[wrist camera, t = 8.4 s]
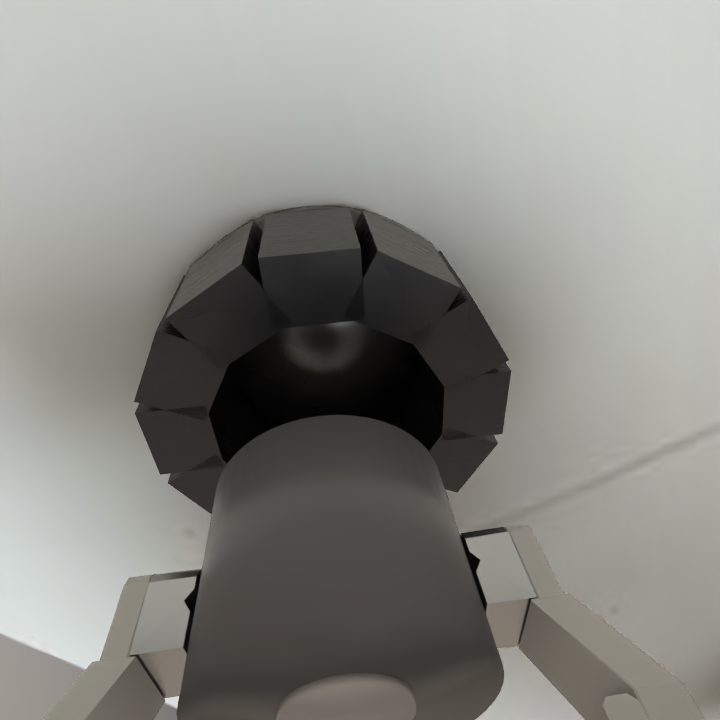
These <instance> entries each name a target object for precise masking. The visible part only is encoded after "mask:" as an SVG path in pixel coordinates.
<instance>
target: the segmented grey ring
mask: <svg viewBox="0 0 720 720" xmlns="http://www.w3.org/2000/svg"><path fill="white" fill-rule="evenodd" d="M508 360H509V359H508V358H507V356H506V354H505V353H504V351H503V349H502V347H501V346H500V344H499V342H498V341H497V339H496V337H495V336H494V334H493V332H492V331H491V329H490V327H489V325H488V324H487V322H486V320H485V319H484V317H483V315H482V314H481V312H480V310H479V308H478V307H477V305H476V303H475V302H474V300H473V298H472V297H471V295H470V294H469V292H468V291H467V289H466V288H465V286H464V285H463V283H462V282H461V280H460V279H459V277H458V276H457V275H456V273H455V272H454V270H453V269H452V267H451V266H450V264H449V263H448V261H447V260H446V258H445V257H444V255H443V254H442V252H441V251H439V252H437V250H436V249H435V247H434V246H433V244H432V243H431V242H429V241H427V240H425V239H423V238H421V237H419V236H418V235H417V234H416V233H414V232H413V231H411V230H409V229H407V228H406V227H404V226H402V225H400V224H399V223H397V222H395V221H393V220H390V219H388V218H385V217H383V216H380V215H377V214H375V213H371V212H367V211H364V210H359V209H355V208H349V207H338V206H306V207H300V208H294V209H287V210H283V211H279V212H276V213H273V214H269V215H266V216H263V217H260V218H258V219H256V220H252V221H251V222H249V223H247V224H245V225H243V226H241V227H239V228H238V229H236V230H235V231H233V232H232V233H230V234H228V235H227V236H225V237H224V238H223V239H221V240H220V241H219V242H218V243H217V244H216V245H214V246H213V247H212V248H211V249H210V250H209V251H208V252H207V253H206V254H205V255H204V256H203V257H202V258H201V259H199V260H198V261H197V262H195V263H194V264H193V265H191V267H190V269H189V271H188V273H187V275H186V276H183V278H182V280H181V282H180V284H179V286H178V288H177V290H176V292H175V294H174V296H173V298H172V300H171V302H170V304H169V306H168V308H167V310H166V312H165V314H164V316H163V318H162V320H161V322H160V324H159V326H158V328H157V331H156V334H155V337H154V340H153V343H152V347H151V350H150V353H149V356H148V359H147V362H146V366H145V369H144V372H143V375H142V378H141V382H140V385H139V388H138V391H137V394H136V397H135V401H134V402H138V403H139V405H138V408H137V410H136V412H135V415H136V417H137V419H138V422H139V424H140V427H141V429H142V431H143V434H144V436H145V439H146V441H147V443H148V446H149V448H150V451H151V453H152V455H153V458H154V460H155V462H156V465H157V467H158V470H159V472H160V474H168V473H171V474H170V477H169V481H168V484H170V485H171V486H173V487H174V488H175V489H177V490H178V491H180V492H181V493H183V494H184V495H185V496H187V497H188V498H190V499H191V500H192V501H194V502H195V503H197V504H198V505H199V506H201V507H202V508H204V509H205V510H206V511H208V512H209V513H211V514H212V511H213V505H214V499H215V494H216V488H217V484H218V481H219V478H220V476H221V473H222V472H223V470H224V468H225V466H226V465H227V463H228V462H229V461H230V460H231V458H232V457H233V456H234V455H235V454H236V453H237V452H238V451H239V450H240V449H241V448H242V447H243V446H245V445H246V444H247V443H249V442H250V441H251V440H253V439H254V438H256V437H257V436H259V435H261V434H263V433H265V432H267V431H269V430H270V429H273V428H275V427H278V426H280V425H283V424H285V423H289V422H292V421H296V420H300V419H304V418H310V417H316V416H326V415H352V416H359V417H367V418H371V419H375V420H379V421H383V422H386V423H388V424H391V425H393V426H396V427H398V428H400V429H402V430H403V431H405V432H407V433H409V434H410V435H412V436H413V437H414V438H416V439H417V440H418V441H419V442H420V443H421V444H422V445H423V446H424V447H425V448H426V449H427V450H428V451H429V453H430V454H431V456H432V457H433V459H434V461H435V463H436V465H437V467H438V470H439V473H440V477H441V480H442V483H443V486H444V489H447V490H451V491H454V492H458V491H459V490H460V488H461V487H462V486H463V485H464V484H465V482H466V481H467V480H468V479H469V478H470V476H471V475H472V474H473V473H474V472H475V470H476V469H477V468H478V467H479V465H480V464H481V463H482V462H483V461H484V459H485V458H486V457H487V456H488V455H489V453H490V452H491V451H492V450H493V449H494V447H495V446H496V445H497V444H498V443H497V441H496V439H495V437H494V435H496V434H502V432H503V425H504V418H505V411H506V404H507V396H508V389H509V382H510V375H511V370H510V369H509V367H508V366H507V364H506V363H505V362H506V361H508ZM445 492H446V490H445ZM446 495H447V493H446ZM447 498H448V496H447Z"/></svg>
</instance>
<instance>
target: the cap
mask: <svg viewBox="0 0 720 720" xmlns="http://www.w3.org/2000/svg"><path fill="white" fill-rule="evenodd" d="M503 680H504V670H503V665H502V661H501V658H500V655H499V652H498V649H497V646H496V643H495V640H494V637H493V634H492V631H491V628H490V625H489V622H488V619H487V616H486V613H485V610H484V607H483V604H482V601H481V598H480V595H479V592H478V589H477V586H476V583H475V580H474V577H473V574H472V571H471V567H470V564H469V561H468V558H467V555H466V552H465V549H464V546H463V543H462V540H461V537H460V534H459V531H458V528H457V525H456V522H455V519H454V516H453V513H452V510H451V507H450V504H449V501H448V498H447V495H446V492H445V489H444V486H443V483H442V480H441V477H440V473H439V470H438V467H437V465H436V463H435V461H434V459H433V457H432V456H431V454H430V453H429V451H428V450H427V449H426V448H425V447H424V446H423V445H422V444H421V443H420V442H419V441H418V440H417V439H416V438H414V437H413V436H412V435H410V434H409V433H407V432H405V431H403V430H402V429H400V428H398V427H396V426H393V425H391V424H388V423H386V422H383V421H379V420H375V419H371V418H367V417H359V416H352V415H326V416H316V417H310V418H304V419H300V420H296V421H292V422H289V423H285V424H283V425H280V426H278V427H275V428H273V429H270V430H269V431H267V432H265V433H263V434H261V435H259V436H257V437H256V438H254V439H253V440H251V441H250V442H249V443H247V444H246V445H245V446H243V447H242V448H241V449H240V450H239V451H238V452H237V453H236V454H235V455H234V456H233V457H232V458H231V460H230V461H229V462H228V463H227V465H226V466H225V468H224V470H223V472H222V473H221V476H220V478H219V481H218V484H217V488H216V494H215V499H214V505H213V511H212V516H211V522H210V528H209V533H208V539H207V544H206V550H205V556H204V561H203V567H202V572H201V578H200V584H199V589H198V595H197V600H196V606H195V612H194V617H193V623H192V628H191V634H190V640H189V645H188V651H187V657H186V662H185V668H184V673H183V679H182V685H181V690H180V696H179V701H178V708H177V718H178V720H475V719H476V718H478V717H479V716H480V715H481V714H482V713H483V712H484V711H486V710H487V708H488V707H489V706H490V705H491V704H492V703H493V702H494V700H495V699H496V697H497V696H498V694H499V693H500V690H501V687H502V685H503Z"/></svg>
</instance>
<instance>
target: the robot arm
mask: <svg viewBox="0 0 720 720" xmlns="http://www.w3.org/2000/svg"><path fill="white" fill-rule="evenodd" d="M460 537H461V540H462V543H463V546H464V549H465V552H466V555H467V558H468V561H469V564H470V567H471V571H472V574H473V577H474V580H475V583H476V586H477V589H478V592H479V595H480V598H481V601H482V604H483V607H484V610H485V613H486V616H487V619H488V622H489V625H490V628H491V631H492V634H493V637H494V640H495V643H496V646H497V648H503V647H511V646H519V649H520V650H521V651H522V652H523V653H524V654H525V655H526V656H527V657H528V658H529V659H530V660H531V661H532V663H533V664H534V665H535V666H536V667H537V668H538V669H539V670H540V671H541V672H542V673H543V674H544V676H545V677H546V678H547V679H548V680H549V681H550V682H551V683H552V684H553V685H554V686H555V687H556V688H557V690H558V691H559V692H560V693H561V694H562V695H563V696H564V697H565V698H566V699H567V700H568V701H569V703H570V704H571V705H572V706H573V707H574V708H575V709H576V710H577V711H578V712H579V713H580V714H581V715H582V717H583V718H584V719H585V720H705V719H704V717H703V715H702V714H701V712H700V711H699V709H698V707H697V706H696V704H695V702H694V701H693V699H692V697H691V696H690V694H689V692H688V691H687V689H686V687H685V686H684V684H683V682H681V681H680V680H679V679H677V678H676V677H675V676H674V675H672V674H671V673H670V672H669V671H667V670H666V669H665V668H664V667H662V666H661V665H660V664H659V663H657V662H656V661H655V660H653V659H652V658H651V657H650V656H648V655H647V654H646V653H645V652H643V651H642V650H641V649H640V648H638V647H637V646H636V645H635V644H633V643H632V642H631V641H630V640H628V639H627V638H626V637H624V636H623V635H622V634H621V633H619V632H618V631H617V630H616V629H614V628H613V627H612V626H611V625H609V624H608V623H607V622H606V621H604V620H603V619H602V618H600V617H599V616H598V615H597V614H595V613H594V612H593V611H592V610H590V609H589V608H588V607H587V606H585V605H584V604H583V603H582V602H580V601H579V600H578V599H576V598H575V597H574V596H573V595H571V594H563V592H562V590H561V588H560V586H559V584H558V582H557V580H556V578H555V576H554V574H553V572H552V570H551V567H550V565H549V563H548V561H547V559H546V557H545V555H544V553H543V551H542V549H541V547H540V545H539V543H538V541H537V539H536V537H535V535H534V533H533V531H532V529H531V528H530V527H529V526H528V525H518V526H512V527H505V528H504V527H500V528H494V529H487V530H481V531H474V532H468V533H461V535H460ZM201 572H202V569H196V570H188V571H180V572H172V573H164V574H153V575H146V576H139V577H132V578H129V579H128V581H127V582H126V584H125V585H124V587H123V590H122V593H121V596H120V599H119V602H118V605H117V609H116V612H115V615H114V618H113V621H112V624H111V627H110V630H109V634H108V637H107V640H106V643H105V646H104V649H103V652H102V655H101V658H100V661H96V662H92V663H91V664H90V665H89V666H88V668H87V669H86V670H85V671H84V672H83V673H82V675H81V676H80V677H79V678H78V679H77V680H76V681H75V682H74V684H73V685H72V686H71V687H70V688H69V689H68V690H67V692H66V693H65V694H64V695H63V696H62V697H61V699H60V700H59V701H58V702H57V703H56V704H55V705H54V707H53V708H52V709H51V710H50V711H49V712H48V713H47V714H46V716H45V717H44V718H43V719H42V720H154V718H155V717H156V715H157V713H158V712H159V710H160V709H161V707H162V705H163V704H164V702H165V699H164V698H169V697H175V696H180V690H181V685H182V679H183V673H184V668H185V662H186V657H187V651H188V645H189V640H190V634H191V628H192V623H193V617H194V612H195V606H196V600H197V595H198V589H199V584H200V578H201Z"/></svg>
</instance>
